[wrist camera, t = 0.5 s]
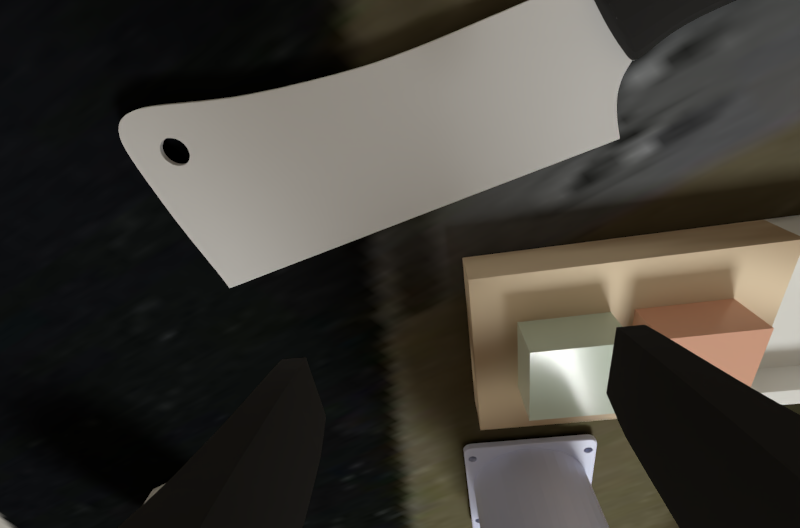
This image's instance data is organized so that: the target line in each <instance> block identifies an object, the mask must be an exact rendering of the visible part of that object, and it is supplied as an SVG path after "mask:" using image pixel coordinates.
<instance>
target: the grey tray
mask: <svg viewBox="0 0 800 528" xmlns="http://www.w3.org/2000/svg"><path fill="white" fill-rule="evenodd" d="M764 220H766V221H768V222H770V223H772V224H774V225H777V226H779V227H781V228H783V229H785V230H788V231H790V232H792V233H794V234H796V235H799V236H800V215H795V216H787V217H780V218H772V219H764ZM772 327H773V328H774V329H773V332H772V335H771V337H770V340H769V342H768V345H767V347H766V350H765V352H764V355H763V357H762V360H761V362H760V365H759V368H758V370H757V373H756V375H755V378H754V380H753V383H752V385H751V388H753V389H754V390H756V391H758V392H760V393H761V394H763V395H765V396H767V397H768V398H770V399H772V400H774V401H775V402H777V403H779V404H781V405H786V404H798V403H800V256H799V258H798V261H797V264H796V266H795V269H794V271H793V274H792V276H791V279H790V281H789V284H788V287H787V289H786V292H785V294H784V297H783V299H782V302H781V305H780V307H779V310H778V312H777V315H776V317H775V320H774V323H773V325H772Z"/></svg>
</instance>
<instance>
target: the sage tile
mask: <svg viewBox="0 0 800 528" xmlns="http://www.w3.org/2000/svg"><path fill="white" fill-rule="evenodd" d="M616 327H622V325H621V324H620V323H619V322H618V320H617V319H616V318H615V317H614V315H613V314H612V313H611V312H606V313H597V314H587V315H578V316H569V317H560V318H551V319H542V320H533V321H524V322H517V337H518V388H519V391H520V394H521V397H522V400H523V403H524V406H525V409H526V412H527V415H528V418H529V421H532V420H544V419H556V418H567V417H579V416H591V415H602V414H614V413H615V412H614V410H613V408H612V405H611V403H610V401H609V398H608V396H607V394H606V392H607V385H608V379H609V372H610V366H611V359H612V353H613V346H614V340H615V333H616Z"/></svg>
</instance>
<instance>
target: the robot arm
mask: <svg viewBox="0 0 800 528" xmlns="http://www.w3.org/2000/svg"><path fill="white" fill-rule="evenodd" d="M606 394H607V396H608V398H609V401H610V403H611V405H612V408H613V410H614V412H615V415H616V417H617V419H618V421H619V423H620V426H621V428H622V430H623V432H624V434H625V436H626V438H627V440H628V442H629V443H630V445H631V447H632V449H633V450H634V452H635V454H636V455H637V457H638V459H639V461H640V462H641V464H642V466H643V467H644V469H645V471H646V472H647V474H648V476H649V478H650V479H651V481H652V483H653V484H654V486H655V488H656V489H657V491H658V493H659V494H660V496H661V498H662V499H663V501H664V503H665V504H666V506H667V508H668V509H669V511H670V513H671V514H672V516H673V518H674V519H675V521H676V523H677V524H678V526H679V528H800V415H799V414H797V413H795V412H793V411H791V410H790V409H788V408H786V407H784V406H783V405H781V404H779V403H777V402H775V401H774V400H772V399H770V398H768V397H767V396H765V395H763V394H761V393H760V392H758V391H756V390H754V389H753V388H751V387H749V386H748V385H746V384H744V383H743V382H741V381H739V380H737V379H736V378H734V377H732V376H731V375H729V374H727V373H726V372H724V371H722V370H721V369H719V368H717V367H716V366H714V365H712V364H711V363H709V362H707V361H706V360H704V359H702V358H701V357H699V356H697V355H696V354H694V353H692V352H691V351H689V350H687V349H686V348H684V347H683V346H681V345H679V344H678V343H676V342H674V341H673V340H671V339H669V338H668V337H666V336H664V335H662V334H661V333H659V332H657V331H656V330H654V329H652V328H650V327H648V326H647V325H636V326H625V327H616V333H615V340H614V346H613V353H612V359H611V366H610V372H609V379H608V385H607V392H606ZM325 418H326V415H325V412H324V409H323V406H322V403H321V400H320V397H319V395H318V392H317V389H316V386H315V383H314V380H313V377H312V374H311V371H310V368H309V365H308V362H307V359H306V357H303V358H293V359H283V360H281V361H280V362H279V363H278V364H277V365H276V366H275V367H274V368H273V369H272V371H271V372H270V373H269V374H268V375H267V376H266V377H265V378H264V380H263V381H262V382H261V383H260V384H259V385H258V386H257V387H256V389H255V390H254V391H253V392H252V393H251V394H250V395H249V396H248V398H247V399H246V400H245V401H244V402H243V403H242V404H241V405H240V406H239V408H238V409H237V410H236V411H235V412H234V413H233V414H232V415H231V416H230V417H229V419H228V420H227V421H226V422H225V423H224V424H223V425H222V426H221V427H220V428H219V430H218V431H217V432H216V433H215V434H214V435H213V436H212V437H211V438H210V439H209V440H208V441H207V442H206V443H205V444H204V445H203V446H202V447H201V448H200V449H199V450H198V451H197V452H196V453H195V454H194V455H193V456H192V457H191V458H190V459H189V460H188V462H187V463H186V464H185V465H184V466H183V467H182V468H181V469H180V470H179V471H178V472H177V473H176V474H175V475H174V476H173V477H172V478H171V479H170V480H169V481H168V482H167V483H166V484H165V485H164V486H162V487H161V488H160V489H159V490H158V491H157V492H156V493H155V494H154V495H153V496H152V497H151V498H150V499H149V500H148V501H147V502H145V503H144V504H143V505H142V506H141V507H140V508H139V509H138V510H137V511H135V512H134V513H133V514H132V515H131V516H130V517H129V518H128V519H127V520H125V521H124V522H123V523H122V524H121V525H120V526H119V527H118V528H303V525H304V521H305V517H306V513H307V509H308V505H309V502H310V498H311V494H312V490H313V486H314V482H315V478H316V474H317V470H318V465H319V461H320V456H321V449H322V442H323V435H324V427H325ZM596 448H597V441H596V439H595V437H594V436H593V435H590V434H584V435H571V436H559V437H547V438H534V439H522V440H510V441H498V442H485V443H473V444H468V445H466V446H465V447H464V449H463V451H464V459H465V468H466V476H467V485H468V493H469V501H470V510H471V518H472V526H473V528H609V526H608V524H607V521H606V519H605V517H604V514H603V512H602V510H601V507H600V505H599V503H598V500H597V498H596V496H595V493H594V491H593V488H592V486H591V483H592V476H593V469H594V462H595V455H596Z"/></svg>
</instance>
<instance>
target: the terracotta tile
mask: <svg viewBox="0 0 800 528" xmlns="http://www.w3.org/2000/svg"><path fill="white" fill-rule="evenodd" d="M636 325H647V326H648V327H650V328H652V329H654V330H656V331H657V332H659V333H661V334H662V335H664V336H666V337H668V338H669V339H671V340H673V341H674V342H676V343H678V344H679V345H681V346H683V347H684V348H686V349H687V350H689V351H691V352H692V353H694V354H696V355H697V356H699V357H701V358H702V359H704V360H706V361H707V362H709V363H711V364H712V365H714V366H716V367H717V368H719V369H721V370H722V371H724V372H726V373H727V374H729V375H731V376H732V377H734V378H736V379H737V380H739V381H741V382H743V383H744V384H746V385H748V386H749V387H751V385H752V383H753V380H754V378H755V375H756V373H757V370H758V368H759V365H760V362H761V360H762V357H763V355H764V352H765V350H766V347H767V345H768V342H769V340H770V337H771V335H772V332H773V329H774V328H773V327H772V326H770V325H769V324H768V323H766V322H765V321H764V320H762V319H761V318H760V317H758V316H757V315H756V314H754V313H753V312H751V311H750V310H749V309H747V308H746V307H745V306H743V305H742V304H741V303H739V302H738V301H737V300H735V299H734V298H733V299H724V300H715V301H706V302H697V303H688V304H679V305H670V306H660V307H651V308H642V309H635V312H634V318H633V323H632V326H636Z"/></svg>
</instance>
